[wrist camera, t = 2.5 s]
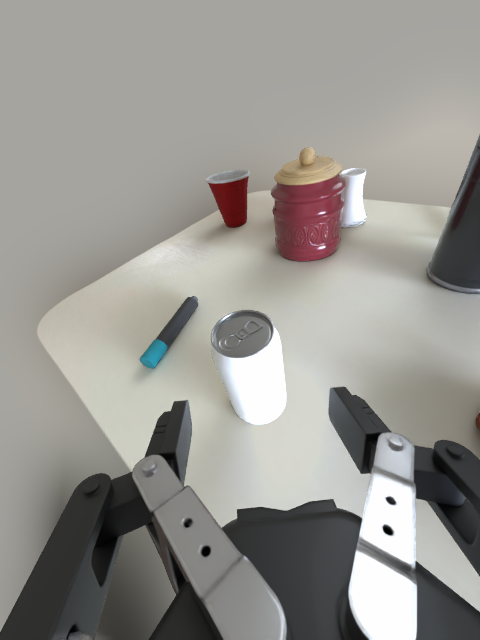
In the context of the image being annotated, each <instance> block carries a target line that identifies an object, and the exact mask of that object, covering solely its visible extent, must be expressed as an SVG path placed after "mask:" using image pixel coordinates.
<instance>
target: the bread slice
mask: <svg viewBox="0 0 480 640" xmlns="http://www.w3.org/2000/svg"><path fill="white" fill-rule="evenodd" d="M476 424H477V427H478V429H479V430H480V413H479V415H478V417H477V419H476Z"/></svg>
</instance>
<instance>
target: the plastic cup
mask: <svg viewBox="0 0 480 640" xmlns="http://www.w3.org/2000/svg"><path fill="white" fill-rule="evenodd" d="M249 175H250V171H247V170H234V171H227V172H222V173H218V174H214V175H212V176H209V177H207V178H206V181H207V182H208V184H209V186H210V188H211V190H212V193H213V195H214V197H215V200H216V202H217V205H218V207H219V210H220V212H221V214H222V217H223V219H224V222H225V223H226V225H227V226H228V227H238V226H241V225H243V224H245V223H246V219H247V182H248V177H249Z"/></svg>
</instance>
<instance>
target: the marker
mask: <svg viewBox="0 0 480 640" xmlns="http://www.w3.org/2000/svg"><path fill="white" fill-rule="evenodd" d="M197 301H198V299H197V297H195V296H192V297H188V298H187V299H186V300H185V301H184V303H183V304H182V305H181V307H180V308H179V309H178V310H177V312H176V313H175V314H174V316H173V317H172V318H171V320H170V321H169V322H168V324H167V325H166V326H165V327H164V329H163V330H162V331H161V333H160V334H159V335H158V337H157V338H156V339H155V340H154V341H153V342H152V343H151V345H150V346H149V347H148V349H147V350H146V351H145V352H144V354H143V355H142V356H141V358H140V362H141V363H142V364H143V365H145V366H146V367H149V368H154V367H155V366H156V365H157V363H158V362H159V360H160V359H161V358H162V356H163V355H164V353H165V352H166V350H167V349H168V348H169V346H170V345H171V343H172V342H173V340H174V339H175V338H176V336H177V335H178V333H179V332H180V330H181V329H182V328H183V326H184V325H185V323H186V322H187V320H188V319H189V318H190V316H191V315H192V313H193V312H194V310H195V309H196V308H197V306H198V302H197Z"/></svg>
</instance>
